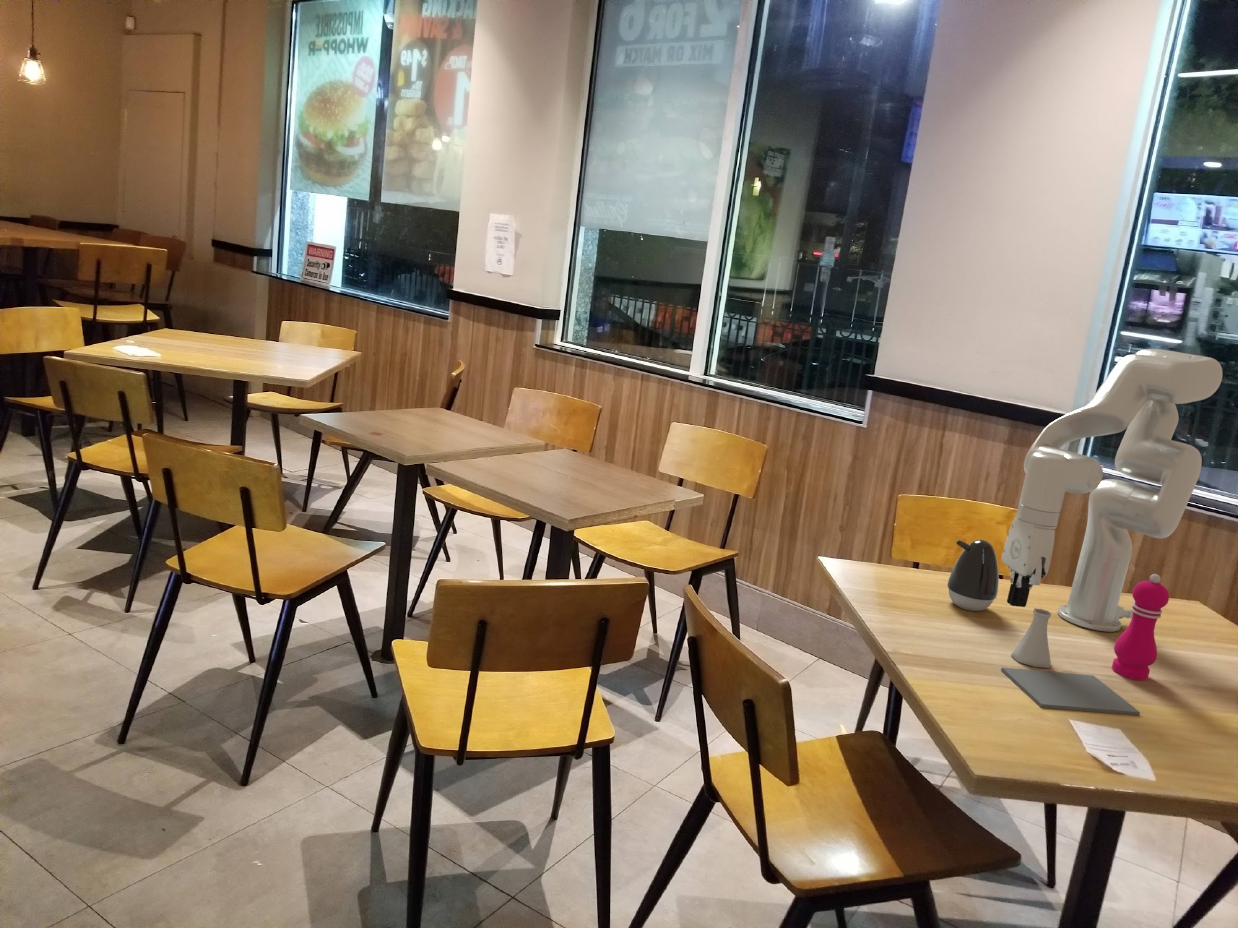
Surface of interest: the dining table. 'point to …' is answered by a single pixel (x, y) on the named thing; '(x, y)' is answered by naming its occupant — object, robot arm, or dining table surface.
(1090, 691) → the rubber mat
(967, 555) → the pump dispenser
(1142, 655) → the pepper mill
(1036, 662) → the flask
